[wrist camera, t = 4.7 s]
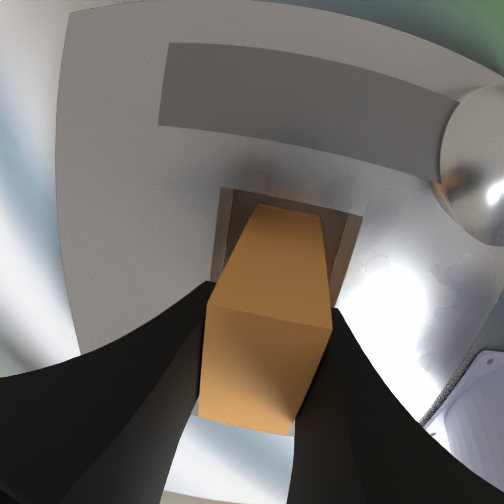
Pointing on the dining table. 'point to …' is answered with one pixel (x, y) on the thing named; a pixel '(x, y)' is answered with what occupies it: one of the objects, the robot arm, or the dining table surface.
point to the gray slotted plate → (281, 169)
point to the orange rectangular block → (266, 323)
